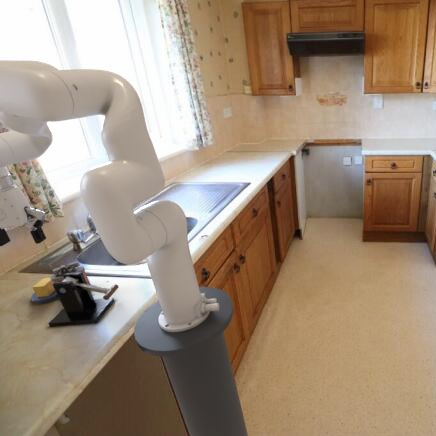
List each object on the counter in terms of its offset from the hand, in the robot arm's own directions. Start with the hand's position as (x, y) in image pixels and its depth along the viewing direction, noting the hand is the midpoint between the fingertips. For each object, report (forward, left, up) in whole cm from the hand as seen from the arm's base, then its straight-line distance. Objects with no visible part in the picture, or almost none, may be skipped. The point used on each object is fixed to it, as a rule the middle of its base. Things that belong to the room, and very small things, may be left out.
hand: (23, 242), depth 90 cm
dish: (0, 0, -18) cm, 18 cm away
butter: (0, 0, -17) cm, 17 cm away
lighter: (-8, 0, -18) cm, 20 cm away
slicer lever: (-20, +10, -11) cm, 25 cm away
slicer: (-16, +10, -18) cm, 26 cm away
